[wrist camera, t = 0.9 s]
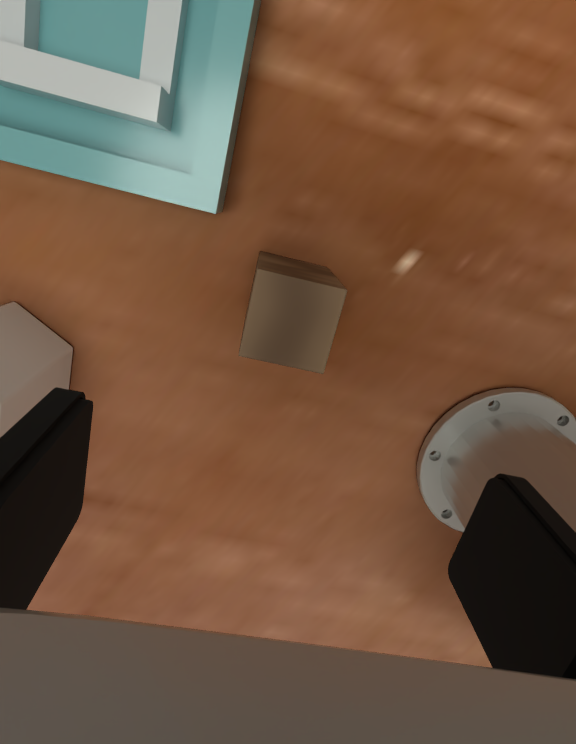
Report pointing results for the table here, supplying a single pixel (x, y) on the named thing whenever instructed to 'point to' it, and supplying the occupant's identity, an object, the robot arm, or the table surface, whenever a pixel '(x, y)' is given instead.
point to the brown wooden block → (292, 313)
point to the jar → (28, 363)
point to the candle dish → (131, 144)
